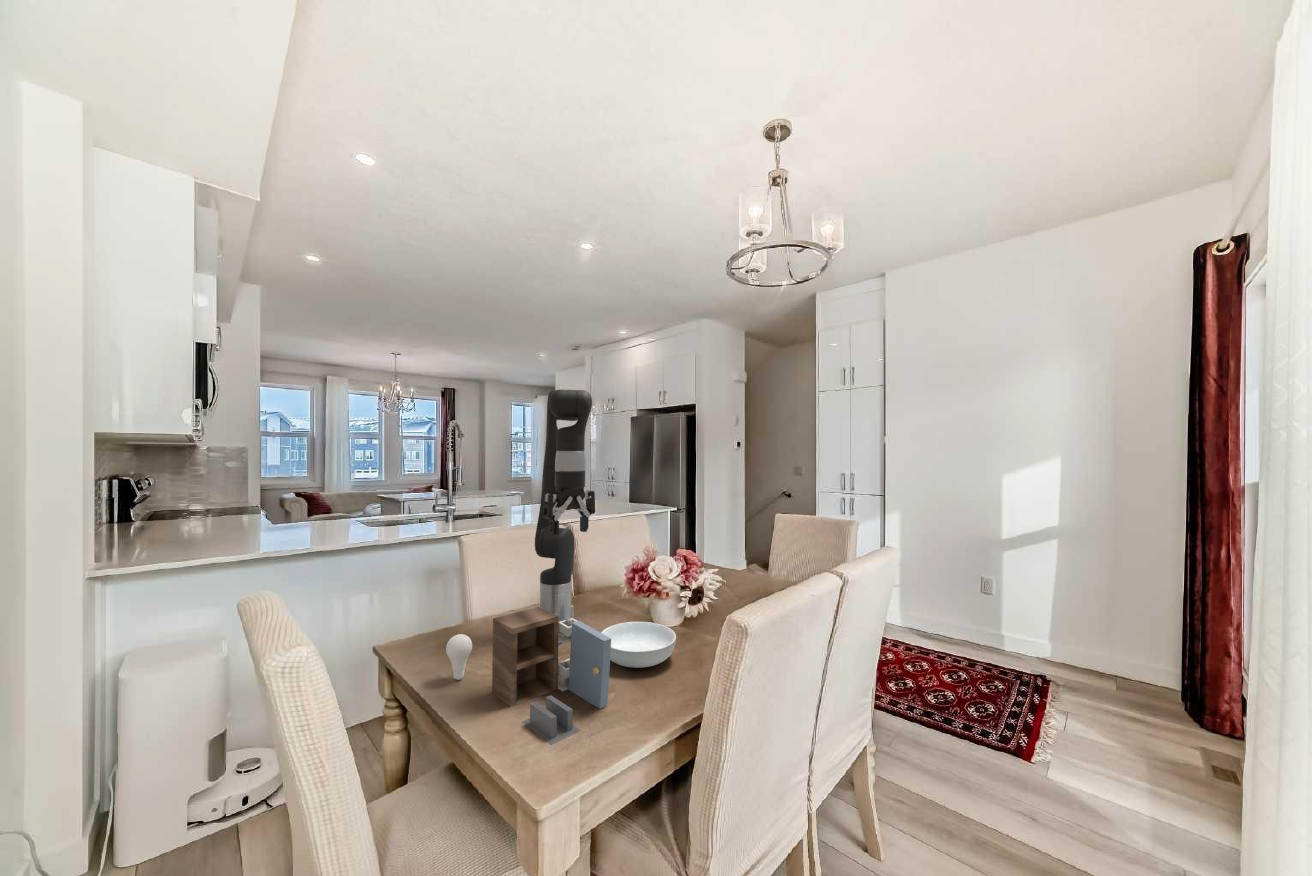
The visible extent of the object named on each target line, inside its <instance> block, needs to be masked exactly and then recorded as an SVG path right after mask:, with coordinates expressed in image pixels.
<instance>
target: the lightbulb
mask: <svg viewBox="0 0 1312 876" xmlns="http://www.w3.org/2000/svg"><path fill="white" fill-rule="evenodd" d="M472 650H473V642H472V640H471V637H469V636H468V635H466V634H463V633H461V634H460V633H458V634H455V635H454V636H452V637H450V639H449V640H448V641H447V644H446V645H445V653H446V655H447V657H448V658H449V661H450V663H451V669H452V673H453V674H452V677H453V679H455V680H456V681H461V680H462V679H463V678H464V677H465V672H466V671H465V669H466V667H467V661H468V658H469V657H470V654H471V653H472Z"/></svg>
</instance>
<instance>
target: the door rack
mask: <svg viewBox="0 0 1312 876" xmlns="http://www.w3.org/2000/svg"><path fill="white" fill-rule="evenodd" d="M573 713H574V710H573V708H571V707H570V706H568V705H567V704H565V703H563V702H562V701H561V700H559V699H558V698H556V697H554V696H553V695H552V694H550V695H547V696H545V707H544V706H542V705H541V704H540V703H538V702H537V701H533V702H530V703H529V718H527V719H525V720H523V721H521V723H522V724H523V725H525V726H527V728H529V729H530V730H531V731H533V732H534V733H535V734H537V736H539V737H540V738H542V739H543V740H544V741H546V742H547V743H548V744H549V745H551V746H552V745H554V744H556V743H558V742H560V741H563V740H564V739H567V738H568V737H571V736H573V735H576V734H577V733H579V732H581V731H582V729H580V728H578V727H577V726H575V725H574V724H573V722H574V721H573V719H574V716H573V715H574V714H573Z"/></svg>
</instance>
